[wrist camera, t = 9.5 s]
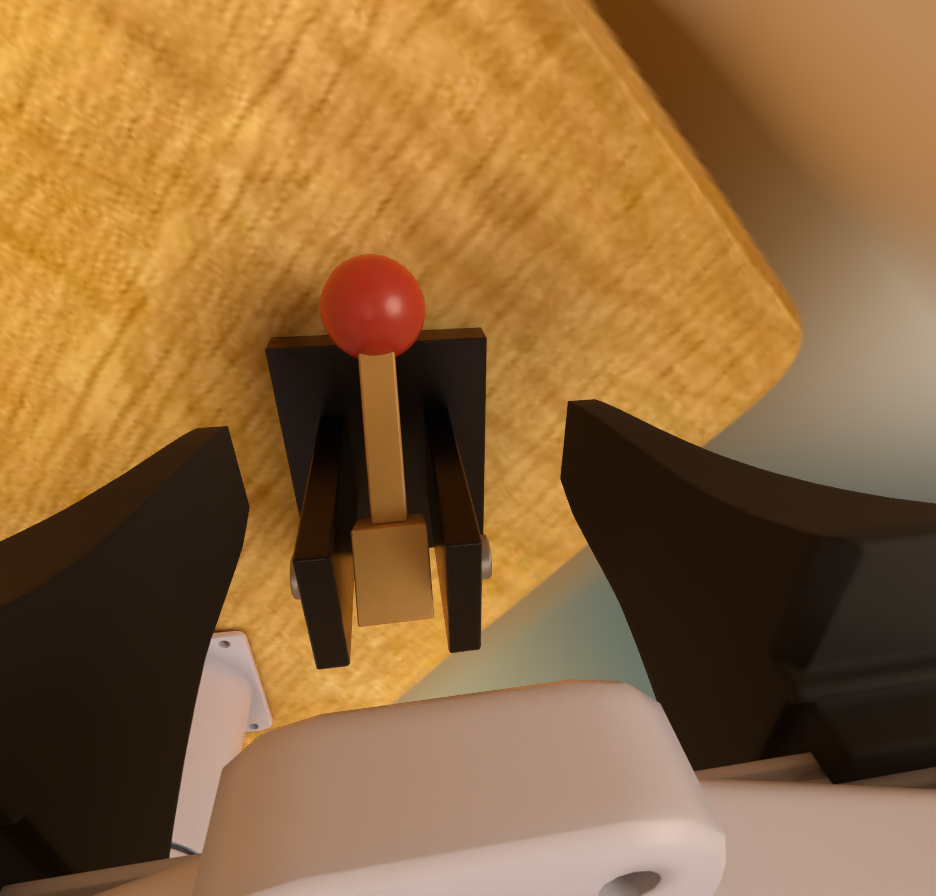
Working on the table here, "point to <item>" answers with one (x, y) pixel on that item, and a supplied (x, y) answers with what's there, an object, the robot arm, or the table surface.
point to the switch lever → (382, 434)
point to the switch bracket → (346, 482)
